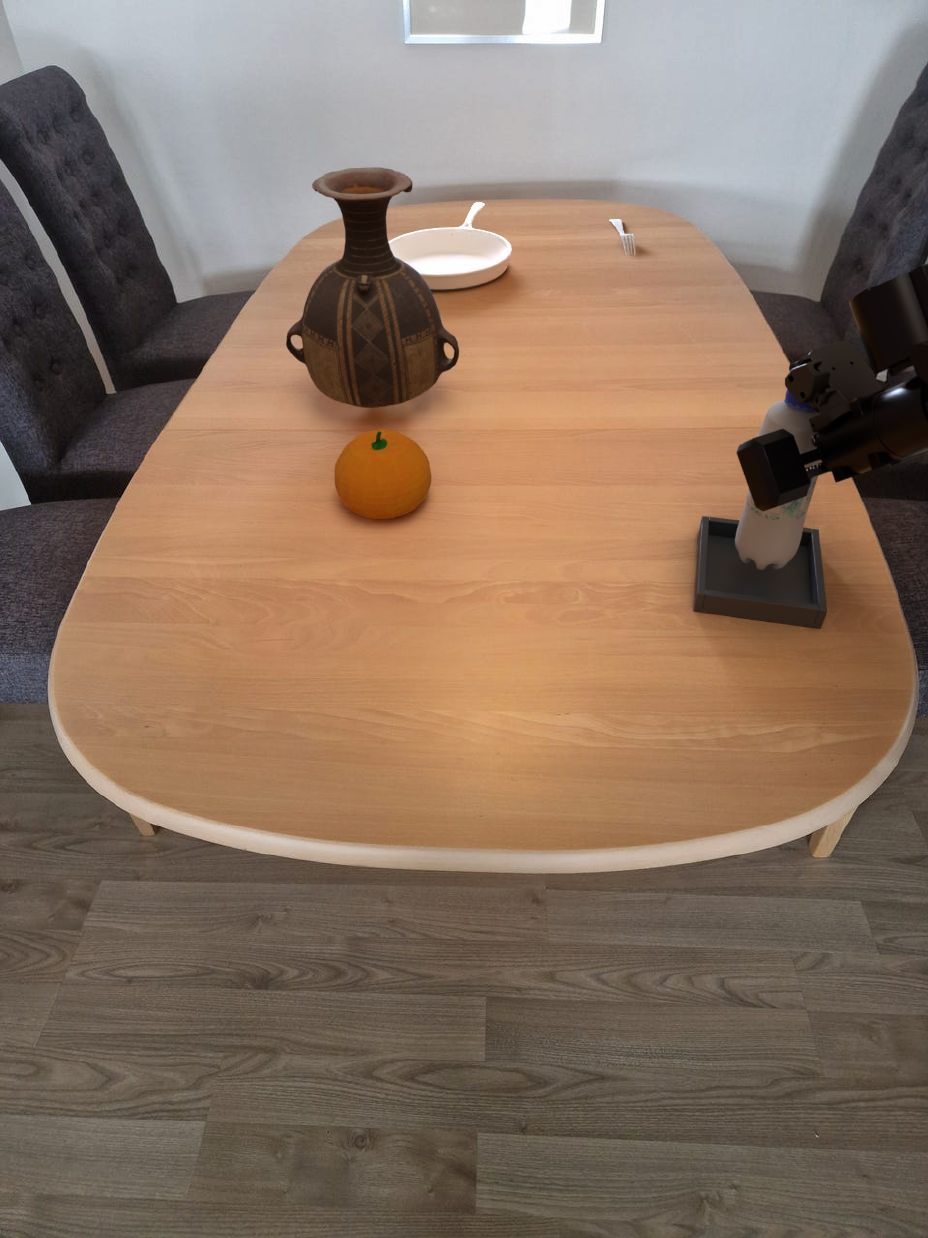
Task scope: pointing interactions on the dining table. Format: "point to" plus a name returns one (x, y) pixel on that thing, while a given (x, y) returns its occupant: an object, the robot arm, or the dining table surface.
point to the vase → (370, 305)
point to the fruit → (382, 474)
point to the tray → (758, 579)
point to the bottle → (782, 526)
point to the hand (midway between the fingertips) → (775, 473)
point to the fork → (619, 226)
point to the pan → (454, 254)
